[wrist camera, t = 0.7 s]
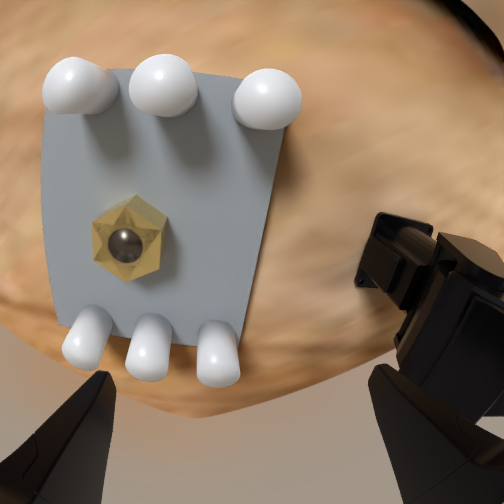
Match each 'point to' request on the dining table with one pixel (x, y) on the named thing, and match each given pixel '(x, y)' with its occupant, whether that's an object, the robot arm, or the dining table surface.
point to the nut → (129, 238)
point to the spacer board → (160, 204)
